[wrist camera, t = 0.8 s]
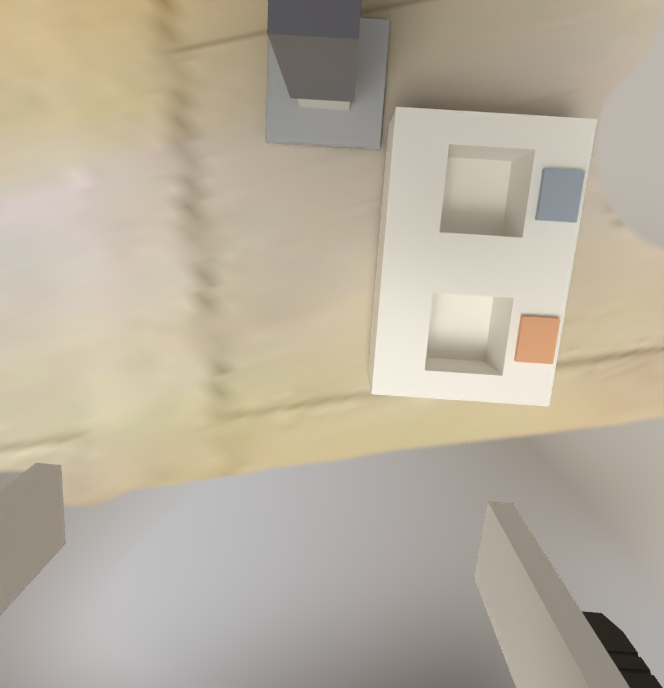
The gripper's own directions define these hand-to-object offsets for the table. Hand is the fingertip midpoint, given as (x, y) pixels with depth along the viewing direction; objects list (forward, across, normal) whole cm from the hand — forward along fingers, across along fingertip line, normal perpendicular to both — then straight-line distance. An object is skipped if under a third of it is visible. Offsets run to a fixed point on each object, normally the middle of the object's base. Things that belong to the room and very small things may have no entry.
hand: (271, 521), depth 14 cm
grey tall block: (+22, -1, +19) cm, 29 cm away
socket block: (+22, +10, +8) cm, 26 cm away
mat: (+23, -1, +19) cm, 29 cm away
